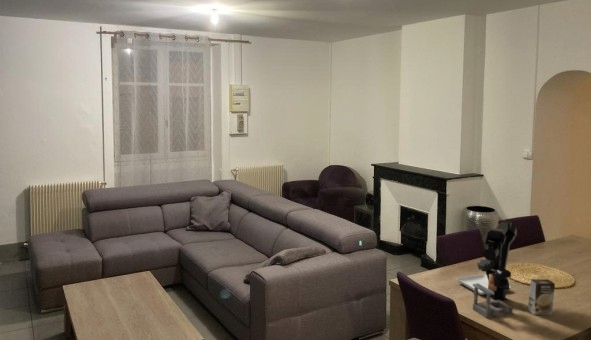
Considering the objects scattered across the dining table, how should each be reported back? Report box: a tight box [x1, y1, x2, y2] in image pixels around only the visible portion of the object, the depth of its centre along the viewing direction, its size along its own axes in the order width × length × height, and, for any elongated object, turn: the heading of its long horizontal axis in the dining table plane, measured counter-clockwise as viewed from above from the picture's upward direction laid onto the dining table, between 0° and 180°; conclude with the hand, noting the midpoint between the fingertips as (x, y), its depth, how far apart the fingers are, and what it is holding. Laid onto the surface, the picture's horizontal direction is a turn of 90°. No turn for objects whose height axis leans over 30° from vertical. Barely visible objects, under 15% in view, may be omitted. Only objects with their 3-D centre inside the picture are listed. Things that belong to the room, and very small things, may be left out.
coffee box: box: [527, 278, 556, 316], centre depth 243 cm, size 9×6×16 cm
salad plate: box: [455, 273, 512, 295], centre depth 275 cm, size 21×21×3 cm
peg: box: [488, 273, 497, 291], centre depth 248 cm, size 4×4×8 cm
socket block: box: [472, 283, 514, 319], centre depth 244 cm, size 16×12×13 cm
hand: (492, 284), depth 248 cm, fingers closed on peg, 4 cm apart
